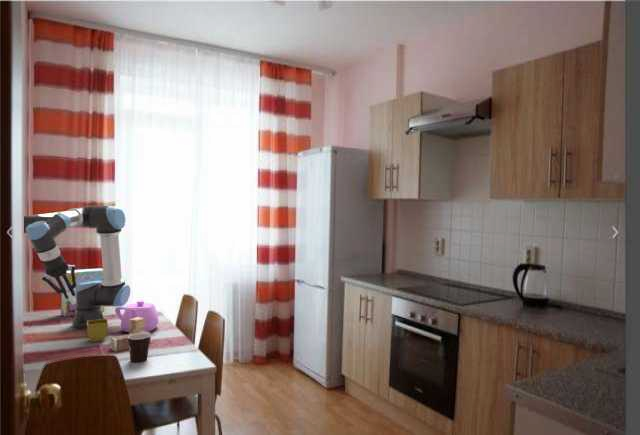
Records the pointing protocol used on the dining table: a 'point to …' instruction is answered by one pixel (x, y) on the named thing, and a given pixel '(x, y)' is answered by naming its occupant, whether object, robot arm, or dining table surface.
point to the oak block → (136, 325)
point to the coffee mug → (138, 347)
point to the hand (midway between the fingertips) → (73, 302)
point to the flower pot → (97, 329)
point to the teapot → (138, 315)
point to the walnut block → (123, 341)
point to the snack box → (80, 277)
